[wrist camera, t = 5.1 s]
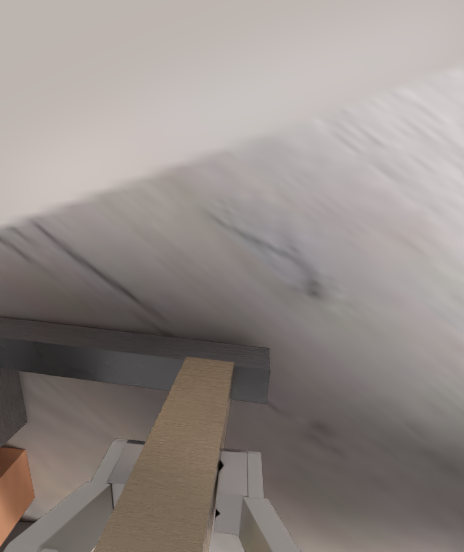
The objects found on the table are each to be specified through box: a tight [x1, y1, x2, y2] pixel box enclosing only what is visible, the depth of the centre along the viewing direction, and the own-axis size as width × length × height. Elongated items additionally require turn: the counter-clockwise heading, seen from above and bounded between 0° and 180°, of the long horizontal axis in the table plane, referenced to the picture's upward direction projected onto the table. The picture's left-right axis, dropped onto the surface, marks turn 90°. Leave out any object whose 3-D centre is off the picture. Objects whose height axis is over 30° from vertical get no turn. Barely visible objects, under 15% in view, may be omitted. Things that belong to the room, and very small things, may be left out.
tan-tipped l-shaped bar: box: [0, 317, 270, 552], centre depth 12 cm, size 18×8×10 cm, turn 86°
